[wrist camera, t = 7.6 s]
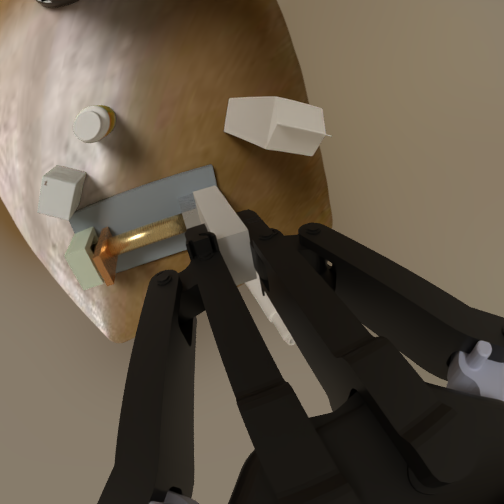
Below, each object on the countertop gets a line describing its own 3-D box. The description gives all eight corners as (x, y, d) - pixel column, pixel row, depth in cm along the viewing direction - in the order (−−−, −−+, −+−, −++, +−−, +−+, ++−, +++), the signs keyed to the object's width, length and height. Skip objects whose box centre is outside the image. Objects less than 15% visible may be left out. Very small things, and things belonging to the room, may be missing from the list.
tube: (87, 234, 41) (75, 264, 33) (192, 197, 45) (202, 220, 37) (99, 258, 44) (91, 291, 36) (200, 223, 48) (211, 251, 40)
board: (69, 214, 40) (67, 216, 39) (211, 164, 45) (212, 165, 44) (99, 275, 47) (98, 279, 47) (226, 233, 53) (228, 236, 52)
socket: (74, 233, 41) (64, 256, 34) (93, 226, 41) (84, 248, 35) (90, 265, 45) (83, 290, 38) (108, 258, 45) (103, 283, 39)
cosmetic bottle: (258, 248, 57) (309, 320, 39) (264, 269, 60) (312, 342, 43) (231, 260, 56) (272, 338, 38) (239, 281, 60) (279, 358, 42)
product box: (50, 197, 37) (36, 213, 31) (57, 163, 35) (41, 174, 29) (79, 204, 40) (69, 221, 34) (87, 171, 38) (76, 184, 32)
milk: (228, 98, 40) (288, 94, 22) (262, 103, 42) (339, 108, 24) (223, 132, 43) (276, 154, 25) (256, 136, 45) (328, 163, 27)
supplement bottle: (119, 106, 34) (109, 106, 27) (113, 138, 37) (102, 147, 29) (88, 104, 32) (71, 104, 24) (83, 136, 34) (65, 145, 27)
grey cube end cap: (177, 198, 45) (181, 212, 39) (216, 186, 46) (226, 199, 40) (187, 230, 48) (192, 248, 43) (224, 218, 50) (234, 235, 44)
